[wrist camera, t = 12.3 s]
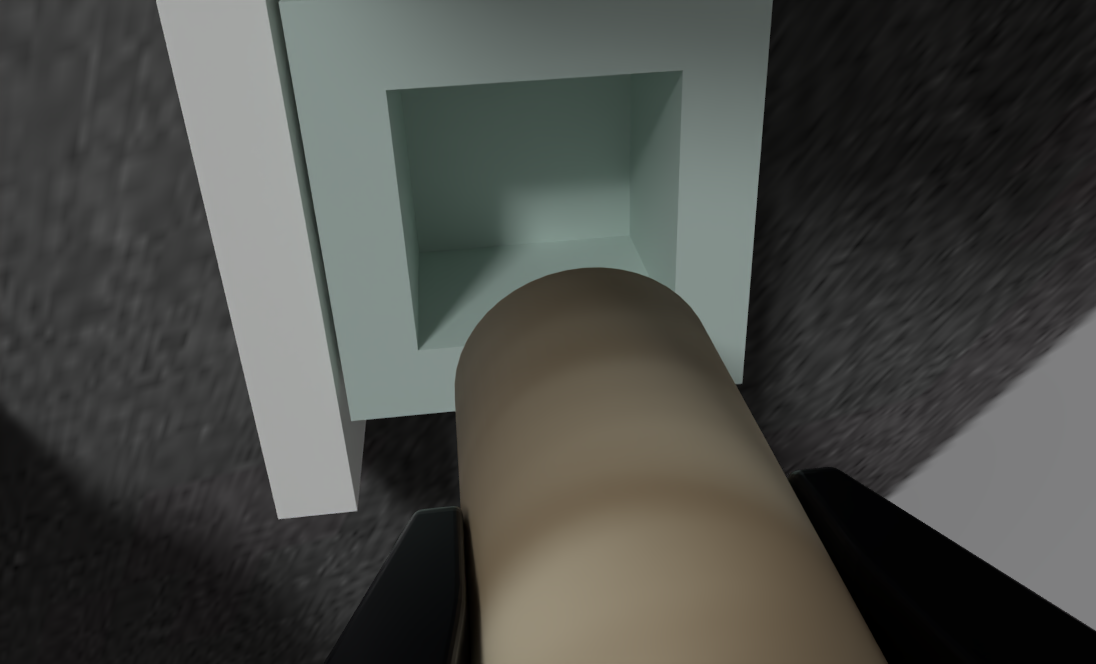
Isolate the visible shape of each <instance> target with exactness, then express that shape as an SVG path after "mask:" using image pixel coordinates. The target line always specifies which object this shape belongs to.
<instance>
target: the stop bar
mask: <svg viewBox="0 0 1096 664" xmlns="http://www.w3.org/2000/svg"><path fill="white" fill-rule="evenodd" d="M279 1H280V0H156V3H157V7H158V11H159V15H160V20H161V24H162V28H163V32H164V36H165V41H166V45H167V49H168V53H169V58H170V62H171V66H172V70H173V75H174V79H175V83H176V87H177V92H178V96H179V100H180V104H181V108H182V113H183V117H184V121H185V125H186V130H187V134H188V138H189V142H190V147H191V151H192V155H193V159H194V164H195V168H196V172H197V176H198V181H199V185H200V189H201V193H202V197H203V202H204V206H205V210H206V214H207V219H208V223H209V227H210V231H211V236H212V240H213V244H214V248H215V253H216V257H217V261H218V265H219V270H220V274H221V278H222V282H223V286H224V291H225V295H226V299H227V303H228V308H229V312H230V316H231V320H232V325H233V329H234V333H235V337H236V342H237V346H238V350H239V354H240V359H241V363H242V367H243V371H244V375H245V380H246V384H247V388H248V392H249V397H250V401H251V405H252V409H253V414H254V418H255V422H256V426H257V431H258V435H259V439H260V443H261V447H262V452H263V456H264V460H265V464H266V469H267V473H268V477H269V481H270V486H271V490H272V494H273V498H274V503H275V507H276V511H277V515H278V519H284V518H294V517H303V516H313V515H323V514H332V513H342V512H351V511H357V508H358V498H359V488H360V478H361V467H362V457H363V447H364V436H365V426H366V420H357V421H351V417H350V411H349V406H348V400H347V394H346V388H345V383H344V377H343V371H342V365H341V360H340V354H339V348H338V342H337V336H336V331H335V325H334V319H333V313H332V308H331V302H330V296H329V290H328V285H327V279H326V273H325V267H324V261H323V256H322V250H321V244H320V238H319V233H318V227H317V221H316V215H315V210H314V204H313V198H312V192H311V187H310V181H309V175H308V169H307V163H306V158H305V152H304V146H303V140H302V135H301V129H300V123H299V117H298V112H297V106H296V100H295V94H294V89H293V83H292V77H291V71H290V65H289V60H288V54H287V48H286V42H285V37H284V31H283V25H282V19H281V14H280V8H279Z"/></svg>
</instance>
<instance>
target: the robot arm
mask: <svg viewBox="0 0 1096 664" xmlns="http://www.w3.org/2000/svg"><path fill="white" fill-rule="evenodd" d="M788 481H789V483H790V485H791V487H792V489H793V491H794V492H795V494H796V496H797V498H798V500H799V502H800V503H801V505H802V507H803V509H804V511H805V513H806V514H807V516H808V518H809V520H810V522H811V523H812V525H813V527H814V529H815V531H816V533H817V534H818V536H819V538H820V540H821V542H822V544H823V545H824V547H825V549H826V551H827V553H828V555H829V556H830V558H831V560H832V562H833V564H834V566H835V567H836V569H837V571H838V573H839V575H840V577H841V578H842V580H843V582H844V584H845V586H846V588H847V589H848V591H849V593H850V595H851V597H852V598H853V600H854V602H855V604H856V606H857V608H858V609H859V611H860V613H861V615H862V617H863V619H864V620H865V622H866V624H867V626H868V628H869V630H870V631H871V633H872V635H873V637H874V639H875V641H876V642H877V644H878V646H879V648H880V650H881V652H882V653H883V655H884V657H885V659H886V661H887V662H888V664H1096V631H1095V630H1093V629H1092V628H1090V627H1089V626H1087V625H1086V624H1084V623H1082V622H1081V621H1079V620H1078V619H1076V618H1074V617H1073V616H1071V615H1070V614H1068V613H1067V612H1065V611H1063V610H1062V609H1060V608H1059V607H1057V606H1055V605H1054V604H1052V603H1051V602H1049V601H1047V600H1046V599H1044V598H1043V597H1041V596H1039V595H1038V594H1036V593H1035V592H1033V591H1031V590H1030V589H1028V588H1027V587H1025V586H1024V585H1022V584H1020V583H1019V582H1017V581H1016V580H1014V579H1012V578H1011V577H1009V576H1008V575H1006V574H1004V573H1003V572H1001V571H999V570H998V569H996V568H995V567H993V566H992V565H990V564H989V563H987V562H985V561H984V560H982V559H981V558H979V557H977V556H976V555H974V554H972V553H971V552H969V551H968V550H966V549H965V548H963V547H961V546H960V545H958V544H957V543H955V542H953V541H952V540H950V539H948V538H947V537H946V536H944V535H942V534H941V533H939V532H938V531H936V530H934V529H933V528H931V527H930V526H928V525H926V524H925V523H923V522H922V521H920V520H918V519H917V518H915V517H914V516H912V515H910V514H909V513H907V512H906V511H904V510H902V509H901V508H899V507H898V506H896V505H895V504H893V503H891V502H890V501H888V500H887V499H885V498H883V497H882V496H880V495H879V494H877V493H875V492H874V491H872V490H871V489H869V488H867V487H866V486H864V485H863V484H861V483H860V482H858V481H856V480H855V479H853V478H852V477H850V476H848V475H847V474H845V473H844V472H842V471H840V470H838V469H836V468H833V467H823V468H813V469H804V470H796V471H794V472H793V473H791V474H790V475H789V477H788ZM324 664H471V645H470V619H469V602H468V584H467V567H466V549H465V532H464V519H463V513H462V510H461V509H460V508H459V507H457V506H449V507H440V508H430V509H422V510H418V511H417V512H415V513H414V515H413V516H412V517H411V519H410V521H409V522H408V524H407V526H406V527H405V529H404V531H403V532H402V534H401V536H400V537H399V539H398V541H397V542H396V544H395V546H394V547H393V549H392V551H391V552H390V554H389V556H388V557H387V559H386V561H385V562H384V564H383V566H382V567H381V569H380V571H379V572H378V574H377V576H376V577H375V579H374V581H373V582H372V584H371V586H370V587H369V589H368V591H367V592H366V594H365V596H364V597H363V599H362V601H361V602H360V604H359V606H358V607H357V609H356V611H355V612H354V614H353V616H352V617H351V619H350V621H349V622H348V624H347V626H346V627H345V629H344V631H343V632H342V634H341V636H340V637H339V639H338V641H337V642H336V644H335V646H334V647H333V649H332V651H331V652H330V654H329V656H328V657H327V659H326V661H325V662H324Z"/></svg>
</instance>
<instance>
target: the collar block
mask: <svg viewBox="0 0 1096 664" xmlns="http://www.w3.org/2000/svg"><path fill="white" fill-rule="evenodd" d="M772 4H773V0H280V1H279V8H280V14H281V19H282V25H283V31H284V37H285V42H286V48H287V54H288V60H289V65H290V71H291V77H292V83H293V89H294V94H295V100H296V106H297V112H298V117H299V123H300V129H301V135H302V140H303V146H304V152H305V158H306V163H307V169H308V175H309V181H310V187H311V192H312V198H313V204H314V210H315V215H316V221H317V227H318V233H319V238H320V244H321V250H322V256H323V261H324V267H325V273H326V279H327V285H328V290H329V296H330V302H331V308H332V313H333V319H334V325H335V331H336V336H337V342H338V348H339V354H340V360H341V365H342V371H343V377H344V383H345V388H346V394H347V400H348V406H349V411H350V417H351V421H357V420H368V419H378V418H389V417H399V416H410V415H420V414H430V413H441V412H451V411H456V410H455V376H456V369H457V365H458V362H459V358H460V355H461V352H462V350H463V348H464V346H465V343H466V341H467V339H468V338H469V336H470V334H471V333H472V331H473V330H474V328H475V327H476V325H477V324H478V323H479V322H480V320H481V319H482V318H483V317H484V316H485V314H486V313H487V312H488V311H489V310H490V309H492V308H493V307H494V306H495V305H496V304H497V303H498V302H499V301H500V300H502V299H503V298H505V297H506V296H507V295H509V294H510V293H512V292H513V291H514V290H516V289H518V288H520V287H522V286H524V285H526V284H527V283H529V282H531V281H534V280H536V279H539V278H541V277H544V276H546V275H550V274H553V273H557V272H561V271H565V270H571V269H578V268H592V267H604V268H614V269H622V270H626V271H630V272H635V273H638V274H641V275H644V276H646V277H649V278H652V279H654V280H656V281H657V282H659V283H661V284H663V285H665V286H667V287H668V288H670V289H671V290H672V291H674V292H675V293H676V294H678V295H679V296H680V297H681V298H682V299H683V300H684V301H685V302H686V303H687V304H688V305H689V306H690V307H691V308H692V309H693V311H694V312H695V313H696V315H697V316H698V317H699V319H700V321H701V322H702V324H703V326H704V328H705V330H706V331H707V333H708V335H709V337H710V339H711V341H712V342H713V344H714V346H715V348H716V350H717V352H718V353H719V355H720V357H721V359H722V361H723V363H724V364H725V366H726V368H727V370H728V372H729V374H730V375H731V377H732V379H733V381H734V383H735V384H742V381H743V368H744V356H745V343H746V330H747V318H748V305H749V293H750V280H751V268H752V255H753V243H754V230H755V218H756V205H757V192H758V180H759V167H760V155H761V142H762V130H763V117H764V105H765V92H766V80H767V67H768V54H769V42H770V29H771V17H772Z"/></svg>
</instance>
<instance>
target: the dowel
mask: <svg viewBox="0 0 1096 664" xmlns="http://www.w3.org/2000/svg"><path fill="white" fill-rule="evenodd" d="M455 410H456V429H457V448H458V466H459V485H460V504H461V510H462V513H463V519H464V532H465V549H466V567H467V584H468V602H469V619H470V645H471V664H888V662H887V661H886V659H885V657H884V655H883V653H882V652H881V650H880V648H879V646H878V644H877V642H876V641H875V639H874V637H873V635H872V633H871V631H870V630H869V628H868V626H867V624H866V622H865V620H864V619H863V617H862V615H861V613H860V611H859V609H858V608H857V606H856V604H855V602H854V600H853V598H852V597H851V595H850V593H849V591H848V589H847V588H846V586H845V584H844V582H843V580H842V578H841V577H840V575H839V573H838V571H837V569H836V567H835V566H834V564H833V562H832V560H831V558H830V556H829V555H828V553H827V551H826V549H825V547H824V545H823V544H822V542H821V540H820V538H819V536H818V534H817V533H816V531H815V529H814V527H813V525H812V523H811V522H810V520H809V518H808V516H807V514H806V513H805V511H804V509H803V507H802V505H801V503H800V502H799V500H798V498H797V496H796V494H795V492H794V491H793V489H792V487H791V485H790V483H789V481H788V480H787V478H786V476H785V474H784V472H783V470H782V469H781V467H780V465H779V463H778V461H777V459H776V458H775V456H774V454H773V452H772V450H771V449H770V447H769V445H768V443H767V441H766V439H765V438H764V436H763V434H762V432H761V430H760V428H759V427H758V425H757V423H756V421H755V419H754V417H753V416H752V414H751V412H750V410H749V408H748V406H747V405H746V403H745V401H744V399H743V397H742V395H741V394H740V392H739V390H738V388H737V386H736V385H735V383H734V381H733V379H732V377H731V375H730V374H729V372H728V370H727V368H726V366H725V364H724V363H723V361H722V359H721V357H720V355H719V353H718V352H717V350H716V348H715V346H714V344H713V342H712V341H711V339H710V337H709V335H708V333H707V331H706V330H705V328H704V326H703V324H702V322H701V321H700V319H699V317H698V316H697V315H696V313H695V312H694V311H693V309H692V308H691V307H690V306H689V305H688V304H687V303H686V302H685V301H684V300H683V299H682V298H681V297H680V296H679V295H678V294H676V293H675V292H674V291H672V290H671V289H670V288H668V287H667V286H665V285H663V284H661V283H659V282H657V281H656V280H654V279H652V278H649V277H646V276H644V275H641V274H638V273H635V272H630V271H626V270H622V269H614V268H604V267H592V268H578V269H571V270H565V271H561V272H557V273H553V274H550V275H546V276H544V277H541V278H539V279H536V280H534V281H531V282H529V283H527V284H526V285H524V286H522V287H520V288H518V289H516V290H514V291H513V292H512V293H510V294H509V295H507V296H506V297H505V298H503V299H502V300H500V301H499V302H498V303H497V304H496V305H495V306H494V307H493V308H492V309H490V310H489V311H488V312H487V313H486V314H485V316H484V317H483V318H482V319H481V320H480V322H479V323H478V324H477V325H476V327H475V328H474V330H473V331H472V333H471V334H470V336H469V338H468V339H467V341H466V343H465V346H464V348H463V350H462V352H461V355H460V358H459V362H458V365H457V369H456V376H455Z"/></svg>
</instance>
